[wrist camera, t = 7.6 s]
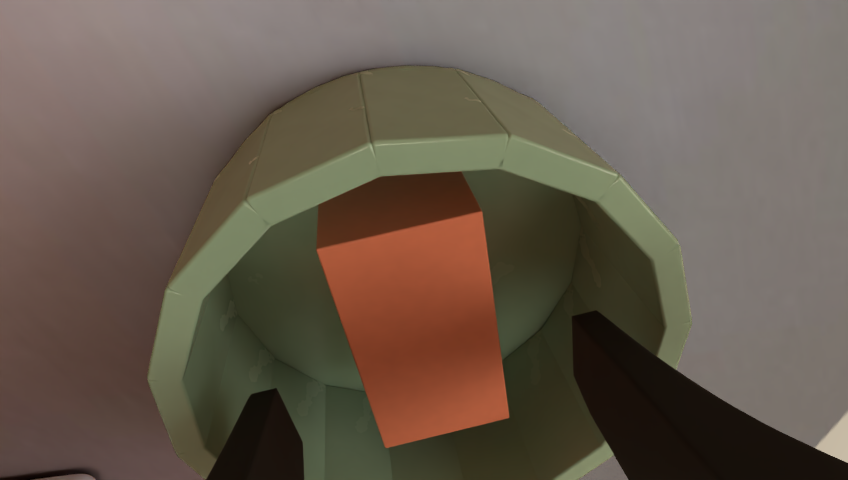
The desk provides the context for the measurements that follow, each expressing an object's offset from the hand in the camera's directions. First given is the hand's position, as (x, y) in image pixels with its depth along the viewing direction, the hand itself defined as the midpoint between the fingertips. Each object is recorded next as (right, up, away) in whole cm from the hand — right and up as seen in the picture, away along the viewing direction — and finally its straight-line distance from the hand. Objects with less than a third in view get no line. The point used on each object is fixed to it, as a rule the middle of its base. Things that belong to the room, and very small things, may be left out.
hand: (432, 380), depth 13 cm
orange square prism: (-1, +2, +4) cm, 5 cm away
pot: (-1, +3, +4) cm, 5 cm away
